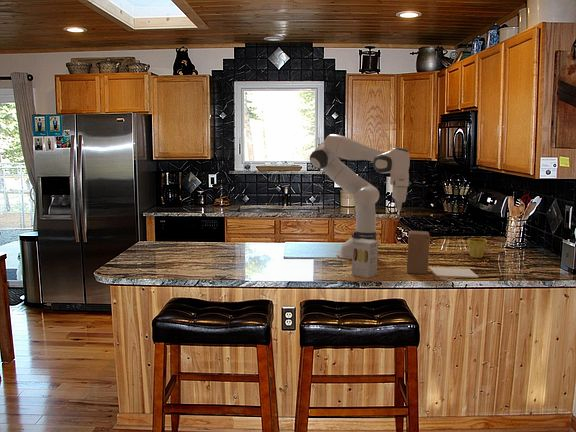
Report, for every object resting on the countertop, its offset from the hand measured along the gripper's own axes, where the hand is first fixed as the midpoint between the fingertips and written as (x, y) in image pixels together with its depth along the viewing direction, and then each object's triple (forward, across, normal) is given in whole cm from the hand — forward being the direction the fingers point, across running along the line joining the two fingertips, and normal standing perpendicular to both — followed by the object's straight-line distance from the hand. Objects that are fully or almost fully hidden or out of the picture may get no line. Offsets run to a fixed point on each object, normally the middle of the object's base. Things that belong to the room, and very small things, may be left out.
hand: (397, 209), depth 279 cm
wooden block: (+31, 0, +11) cm, 33 cm away
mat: (+31, 0, +29) cm, 43 cm away
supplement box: (+31, +9, -16) cm, 36 cm away
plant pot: (+31, -41, +52) cm, 73 cm away
